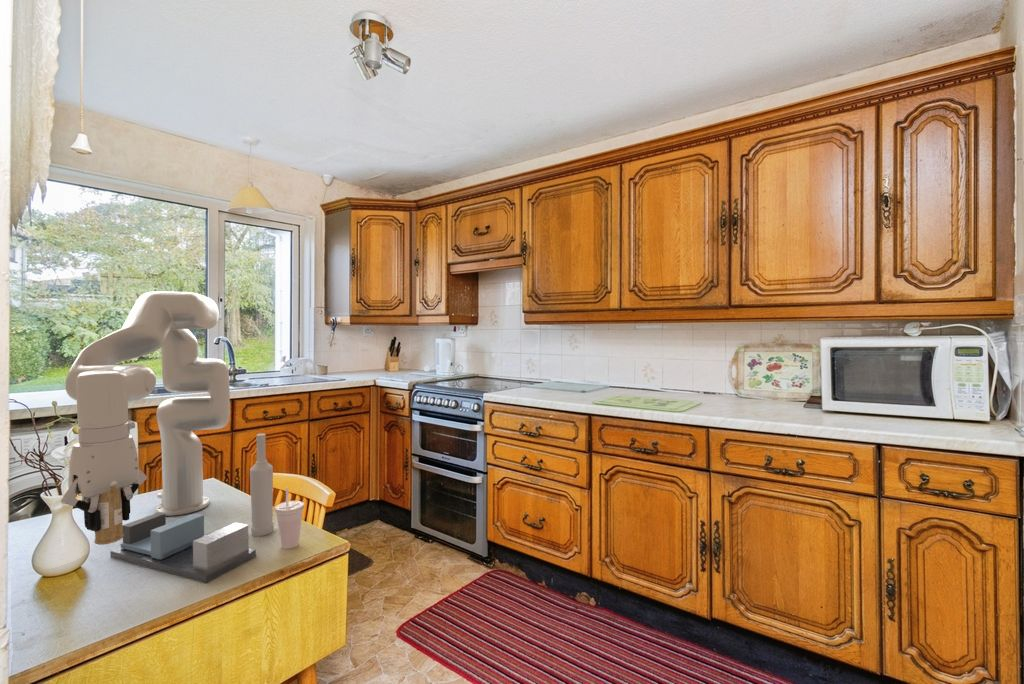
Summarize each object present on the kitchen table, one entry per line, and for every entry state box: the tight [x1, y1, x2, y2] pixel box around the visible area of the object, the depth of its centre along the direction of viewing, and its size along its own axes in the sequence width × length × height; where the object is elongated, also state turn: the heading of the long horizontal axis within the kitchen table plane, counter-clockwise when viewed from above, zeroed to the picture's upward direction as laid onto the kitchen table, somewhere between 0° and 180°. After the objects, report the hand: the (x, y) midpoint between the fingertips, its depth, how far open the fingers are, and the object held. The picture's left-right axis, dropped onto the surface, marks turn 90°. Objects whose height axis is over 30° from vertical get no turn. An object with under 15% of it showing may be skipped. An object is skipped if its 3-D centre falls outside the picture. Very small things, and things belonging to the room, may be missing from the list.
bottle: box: [249, 433, 275, 537], centre depth 121 cm, size 5×5×25 cm
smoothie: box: [274, 487, 305, 550], centre depth 114 cm, size 6×6×14 cm
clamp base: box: [109, 522, 257, 584], centre depth 108 cm, size 30×12×8 cm, turn 70°
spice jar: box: [93, 481, 124, 546], centre depth 94 cm, size 5×5×13 cm
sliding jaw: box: [120, 512, 205, 560], centre depth 111 cm, size 14×10×6 cm
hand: (108, 523), depth 95 cm, fingers closed on spice jar, 4 cm apart
